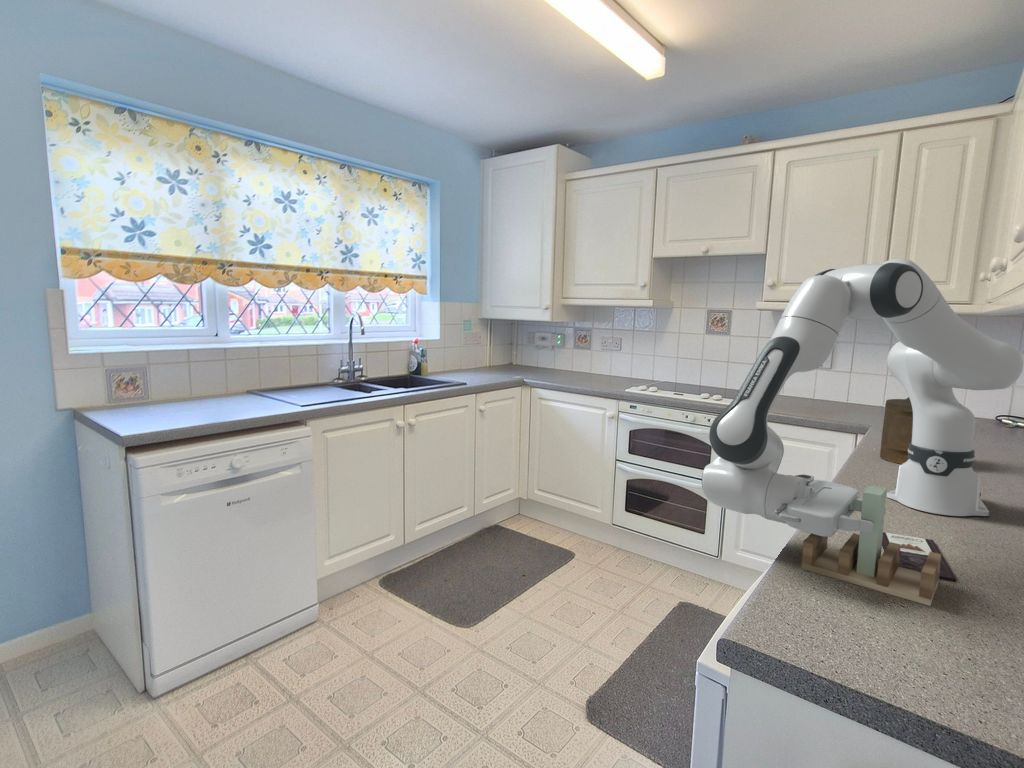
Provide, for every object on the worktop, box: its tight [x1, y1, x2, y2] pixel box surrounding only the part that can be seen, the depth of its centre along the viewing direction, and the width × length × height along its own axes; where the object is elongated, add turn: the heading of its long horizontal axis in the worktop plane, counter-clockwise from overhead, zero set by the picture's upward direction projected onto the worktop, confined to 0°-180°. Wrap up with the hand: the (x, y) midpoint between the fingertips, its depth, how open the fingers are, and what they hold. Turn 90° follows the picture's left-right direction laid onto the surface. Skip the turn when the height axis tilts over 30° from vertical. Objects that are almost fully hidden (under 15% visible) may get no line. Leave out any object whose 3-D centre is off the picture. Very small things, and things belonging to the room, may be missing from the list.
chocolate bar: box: [882, 531, 957, 583], centre depth 100 cm, size 9×1×18 cm
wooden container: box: [879, 396, 913, 465], centre depth 165 cm, size 15×15×22 cm
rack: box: [801, 533, 942, 607], centre depth 92 cm, size 10×18×5 cm, turn 46°
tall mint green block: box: [857, 485, 887, 577], centre depth 91 cm, size 5×2×14 cm, turn 137°
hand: (879, 519), depth 90 cm, fingers open, 8 cm apart
